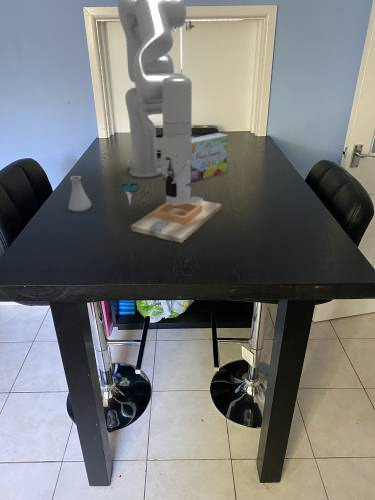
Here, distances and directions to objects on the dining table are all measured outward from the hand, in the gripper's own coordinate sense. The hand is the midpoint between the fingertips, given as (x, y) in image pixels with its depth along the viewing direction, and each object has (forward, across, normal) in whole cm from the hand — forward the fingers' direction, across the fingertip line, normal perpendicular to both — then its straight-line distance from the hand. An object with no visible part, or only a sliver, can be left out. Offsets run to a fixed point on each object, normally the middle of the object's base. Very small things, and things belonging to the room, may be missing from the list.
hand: (178, 191), depth 108 cm
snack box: (+9, -39, -11) cm, 41 cm away
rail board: (+9, 0, 0) cm, 9 cm away
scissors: (+9, -10, -25) cm, 28 cm away
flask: (+9, +7, -32) cm, 34 cm away
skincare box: (+4, 0, 0) cm, 4 cm away
